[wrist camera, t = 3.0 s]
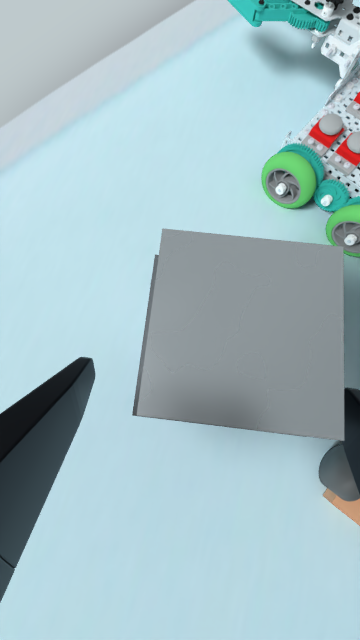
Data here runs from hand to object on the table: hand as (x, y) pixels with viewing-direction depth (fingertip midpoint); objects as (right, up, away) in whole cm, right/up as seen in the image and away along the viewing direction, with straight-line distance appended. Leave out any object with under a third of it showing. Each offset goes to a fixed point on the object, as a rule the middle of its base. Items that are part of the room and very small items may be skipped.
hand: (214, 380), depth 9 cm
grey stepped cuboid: (0, 0, +9) cm, 9 cm away
